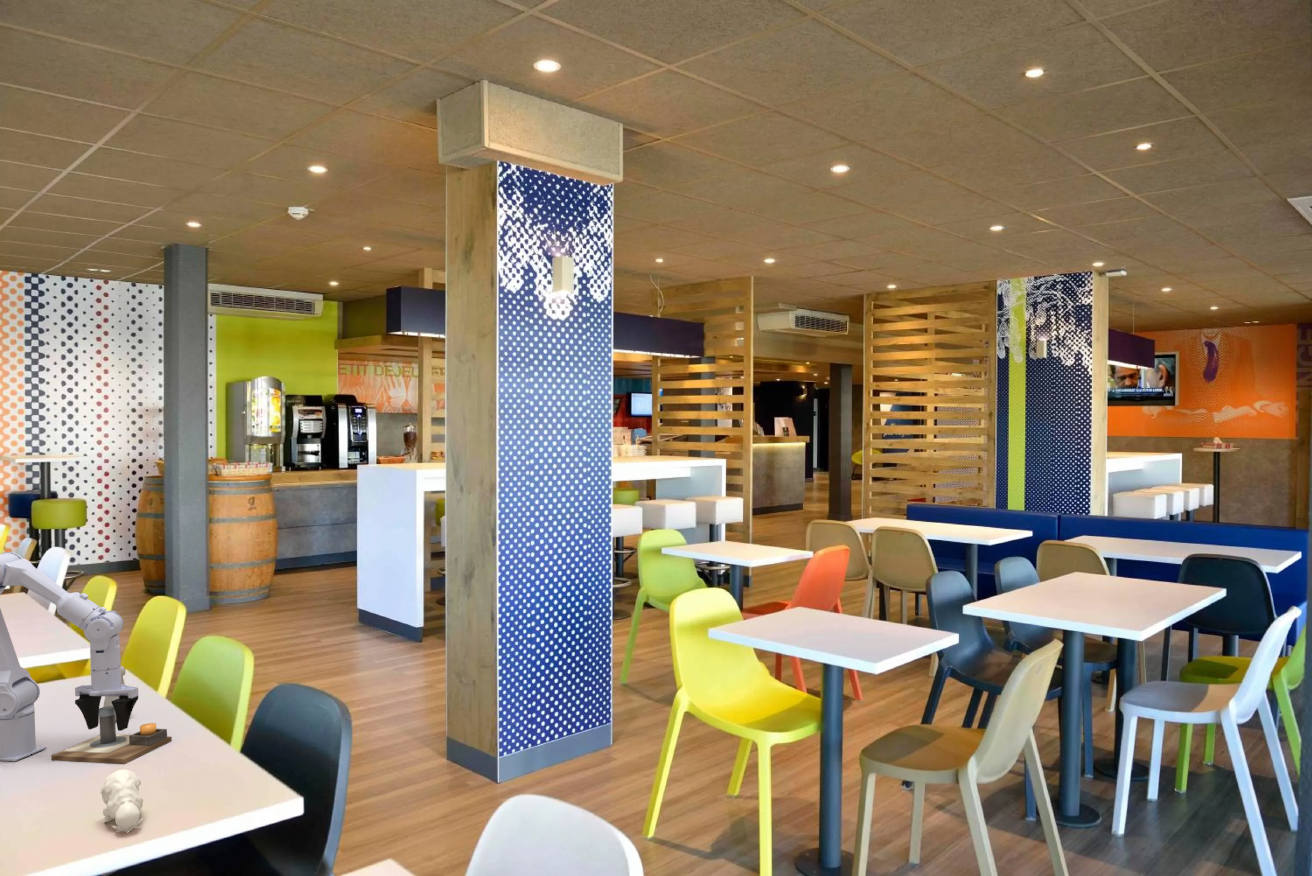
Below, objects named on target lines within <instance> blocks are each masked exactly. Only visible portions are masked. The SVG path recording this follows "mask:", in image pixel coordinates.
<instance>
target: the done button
mask: <svg viewBox="0 0 1312 876" xmlns="http://www.w3.org/2000/svg"><path fill="white" fill-rule="evenodd" d="M156 729H157V723H156V722H149V723H144V724H141V725H140V726H139V731H140V736H150V735H153V734H155V733H156Z"/></svg>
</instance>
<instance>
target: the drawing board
mask: <svg viewBox="0 0 1312 876" xmlns="http://www.w3.org/2000/svg"><path fill="white" fill-rule="evenodd" d="M172 740H173V739H172V736H169V735H168V729H167V728H156V733H155V734H153V735H150V736H140V730H139V731H137V732H135V733H133V734H123V733H120V734H119V733H116V741H115V742H113V743H109V744H101V743H100V734H98V735H95V736H93V737H91V738H89V739H87V740H85V741H82V742H80V743H77V744H75V745H72V746H70V747H68V748H66V749H63V750H61V751H58V752H57V753H54V754H51V755H50V759H51V761H59V762H79V763H81V762H82V763H97V764H98V763H99V764H100V763H101V764H118V765H119V764H121V765H125V764H128V763H129V762H131V761H133V760H136V759H138V758H140V757H141V756H143V755H146V754H148V753H150V752H153V751H154V750H156V749H158V748H160V747H163V746H165V745H166V744H168V743H171V742H172ZM164 744H165V745H164Z"/></svg>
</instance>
